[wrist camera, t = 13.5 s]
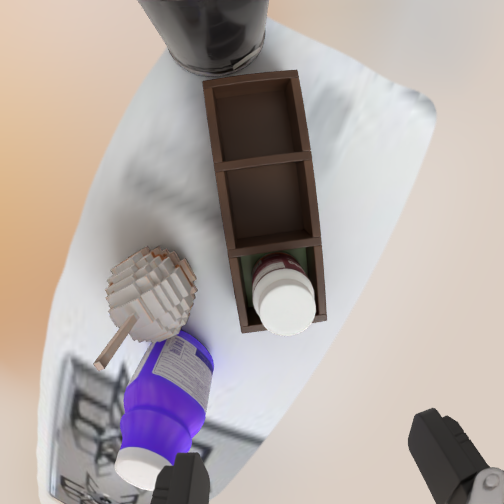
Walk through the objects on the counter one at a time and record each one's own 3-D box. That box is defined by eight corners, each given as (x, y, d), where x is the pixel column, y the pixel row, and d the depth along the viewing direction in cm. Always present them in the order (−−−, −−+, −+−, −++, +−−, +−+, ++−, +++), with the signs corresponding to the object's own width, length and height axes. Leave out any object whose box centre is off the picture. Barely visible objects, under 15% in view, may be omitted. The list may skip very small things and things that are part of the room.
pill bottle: (310, 282, 29) (332, 321, 21) (267, 306, 30) (274, 351, 22) (286, 240, 28) (303, 266, 20) (242, 266, 29) (240, 301, 21)
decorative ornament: (111, 266, 30) (27, 332, 15) (172, 231, 29) (107, 284, 14) (150, 328, 31) (97, 422, 17) (211, 299, 31) (185, 397, 16)
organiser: (208, 95, 26) (202, 81, 21) (289, 85, 26) (297, 69, 21) (242, 311, 31) (241, 333, 26) (315, 300, 31) (327, 320, 26)
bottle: (143, 344, 32) (82, 460, 15) (174, 314, 31) (117, 436, 14) (191, 383, 33) (163, 508, 16) (224, 357, 32) (211, 490, 15)
